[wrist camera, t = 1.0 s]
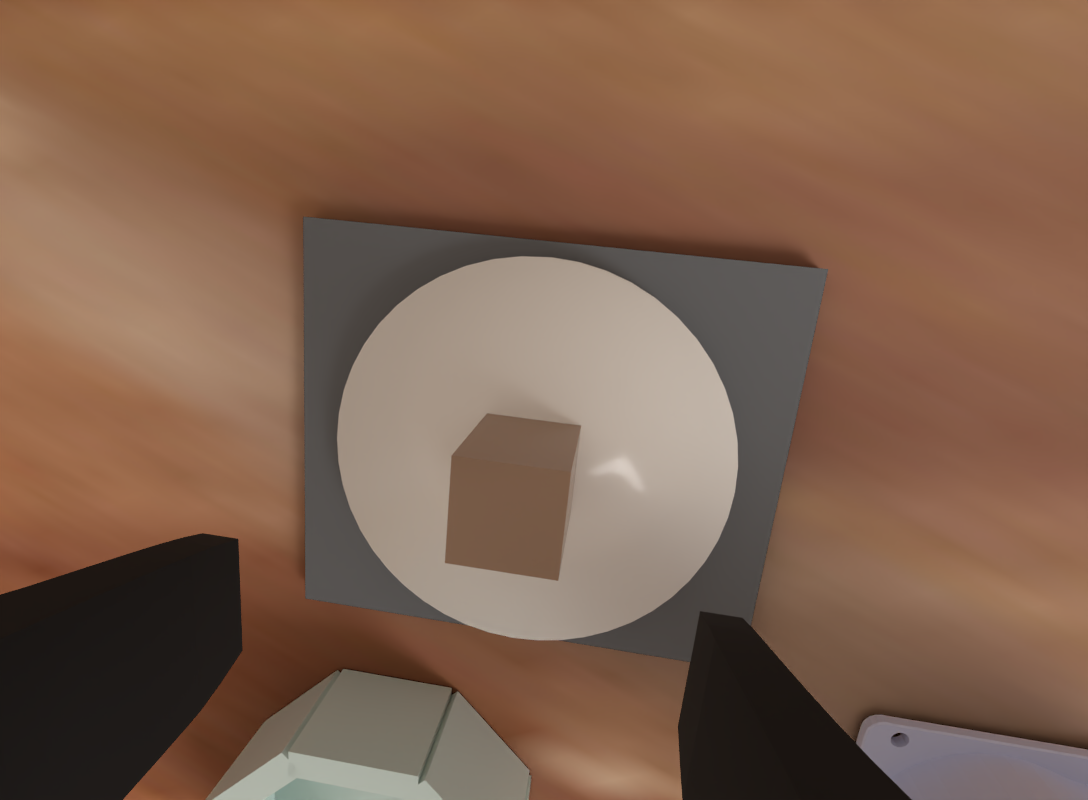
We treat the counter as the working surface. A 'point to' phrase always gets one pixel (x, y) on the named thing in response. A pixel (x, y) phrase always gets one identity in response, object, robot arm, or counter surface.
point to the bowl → (375, 747)
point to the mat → (675, 280)
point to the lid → (537, 448)
